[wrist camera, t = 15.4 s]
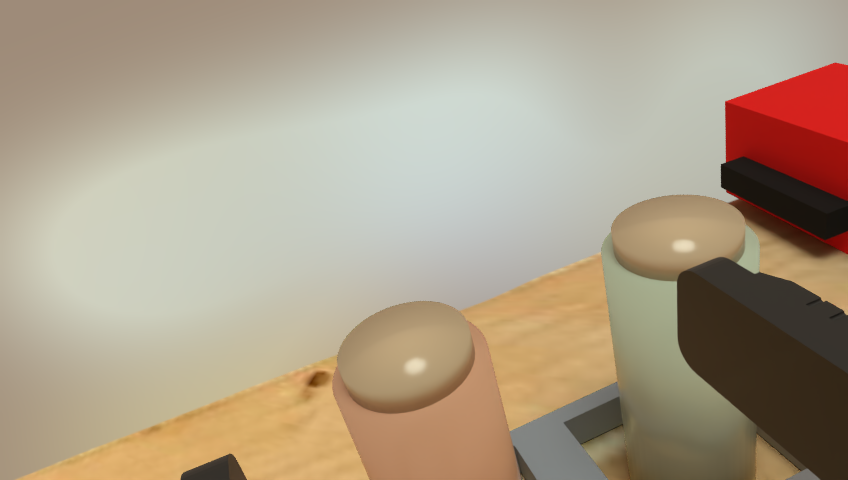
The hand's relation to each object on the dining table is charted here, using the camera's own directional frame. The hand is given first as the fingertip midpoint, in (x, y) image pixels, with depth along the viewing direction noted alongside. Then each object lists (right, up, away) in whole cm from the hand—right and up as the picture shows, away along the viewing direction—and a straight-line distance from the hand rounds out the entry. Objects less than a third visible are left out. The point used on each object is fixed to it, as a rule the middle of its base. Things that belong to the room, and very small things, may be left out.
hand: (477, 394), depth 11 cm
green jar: (+13, -9, +22) cm, 27 cm away
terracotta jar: (+2, -14, +20) cm, 24 cm away
